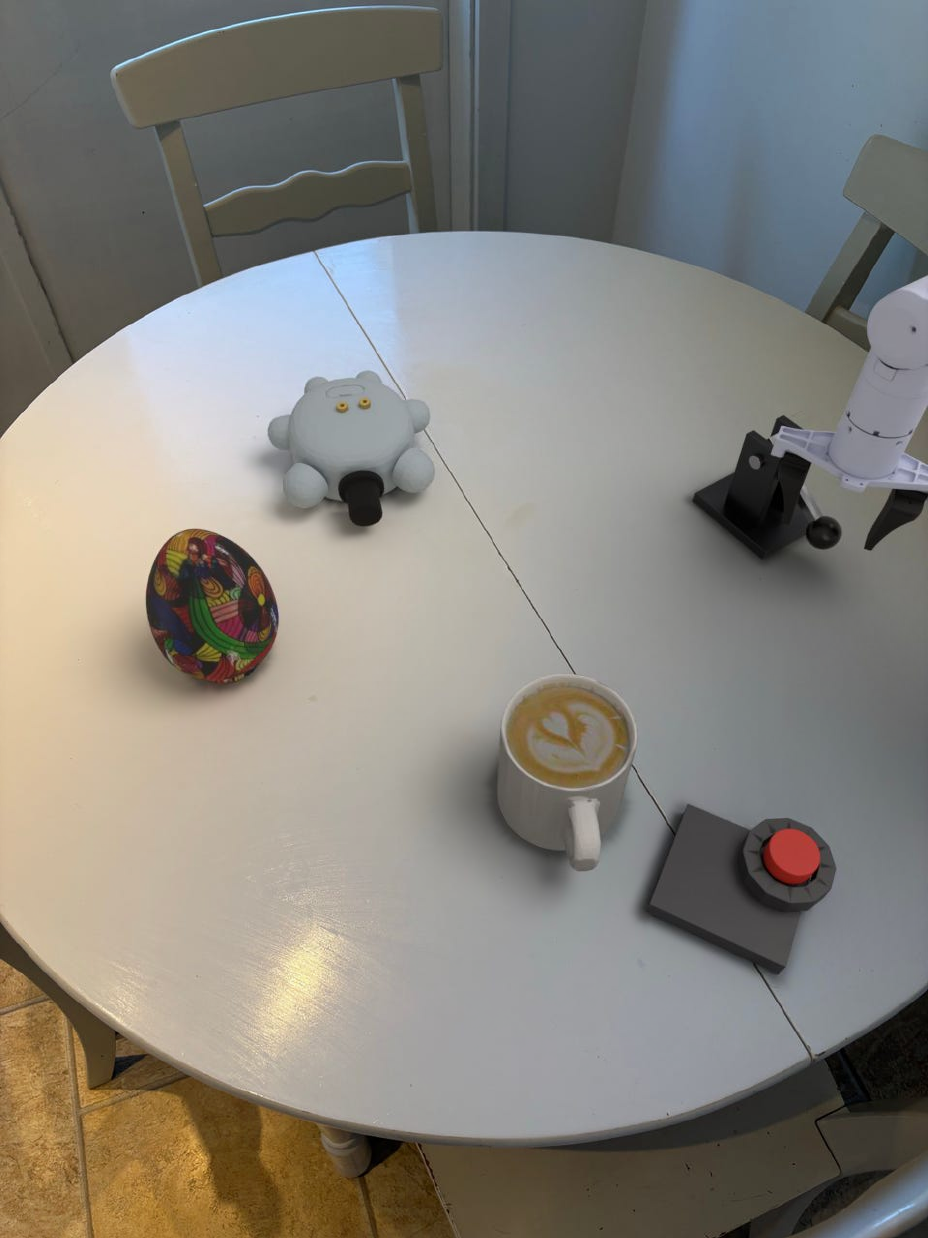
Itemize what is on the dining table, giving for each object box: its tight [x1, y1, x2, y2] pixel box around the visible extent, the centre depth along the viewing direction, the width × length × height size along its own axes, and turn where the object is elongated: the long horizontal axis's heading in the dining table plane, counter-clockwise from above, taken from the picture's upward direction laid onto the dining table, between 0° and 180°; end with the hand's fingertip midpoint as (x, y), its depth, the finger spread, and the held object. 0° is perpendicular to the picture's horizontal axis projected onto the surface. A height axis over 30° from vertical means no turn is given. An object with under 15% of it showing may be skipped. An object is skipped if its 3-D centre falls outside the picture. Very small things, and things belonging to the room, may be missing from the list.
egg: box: [145, 528, 280, 684], centre depth 75 cm, size 11×11×15 cm
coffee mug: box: [496, 673, 639, 872], centre depth 67 cm, size 13×10×10 cm
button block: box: [645, 803, 837, 975], centre depth 66 cm, size 11×10×4 cm
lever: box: [765, 433, 843, 551], centre depth 85 cm, size 12×3×3 cm
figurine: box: [267, 370, 436, 528], centre depth 93 cm, size 17×8×20 cm
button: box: [763, 829, 820, 885], centre depth 65 cm, size 4×4×2 cm
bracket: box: [692, 414, 809, 560], centre depth 88 cm, size 10×8×10 cm
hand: (827, 529), depth 84 cm, fingers open, 7 cm apart
